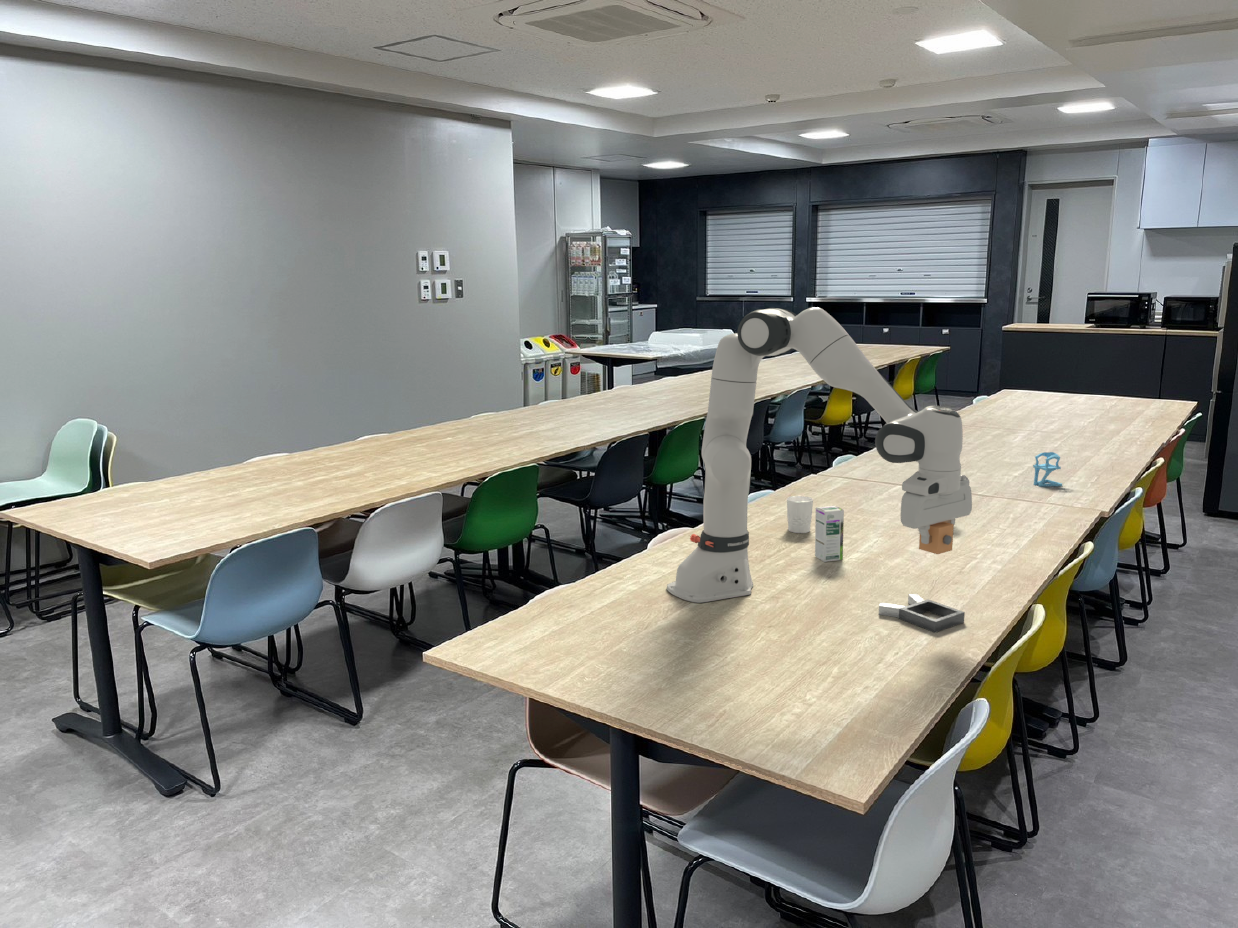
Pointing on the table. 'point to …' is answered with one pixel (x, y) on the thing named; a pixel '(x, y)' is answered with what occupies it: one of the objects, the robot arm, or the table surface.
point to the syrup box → (829, 533)
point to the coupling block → (939, 538)
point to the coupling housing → (921, 606)
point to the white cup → (799, 513)
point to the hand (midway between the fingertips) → (935, 540)
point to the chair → (1046, 469)
